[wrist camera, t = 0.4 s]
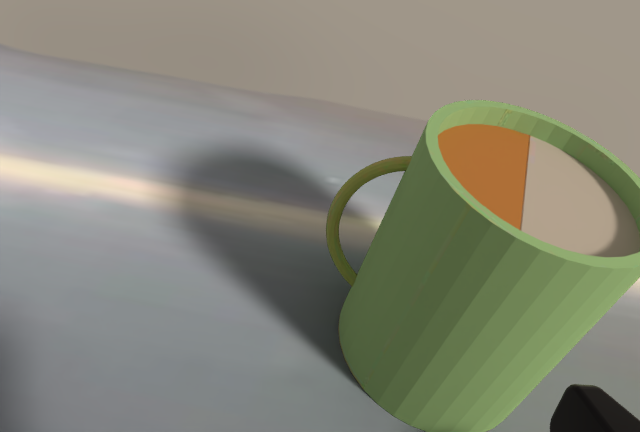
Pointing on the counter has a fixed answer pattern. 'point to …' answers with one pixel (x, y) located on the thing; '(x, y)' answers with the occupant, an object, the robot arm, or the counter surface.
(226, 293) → the counter surface
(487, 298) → the mug
